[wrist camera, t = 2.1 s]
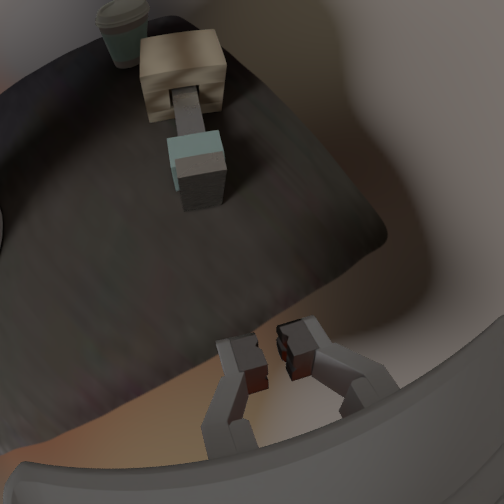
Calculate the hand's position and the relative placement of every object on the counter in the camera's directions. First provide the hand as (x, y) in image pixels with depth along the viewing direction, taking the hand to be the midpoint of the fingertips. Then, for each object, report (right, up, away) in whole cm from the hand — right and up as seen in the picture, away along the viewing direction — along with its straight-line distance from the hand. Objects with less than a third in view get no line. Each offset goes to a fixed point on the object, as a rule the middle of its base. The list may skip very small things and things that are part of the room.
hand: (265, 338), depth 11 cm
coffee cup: (-21, +36, +25) cm, 49 cm away
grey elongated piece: (-8, +17, +22) cm, 29 cm away
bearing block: (-11, +26, +24) cm, 37 cm away
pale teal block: (-7, +12, +21) cm, 25 cm away
